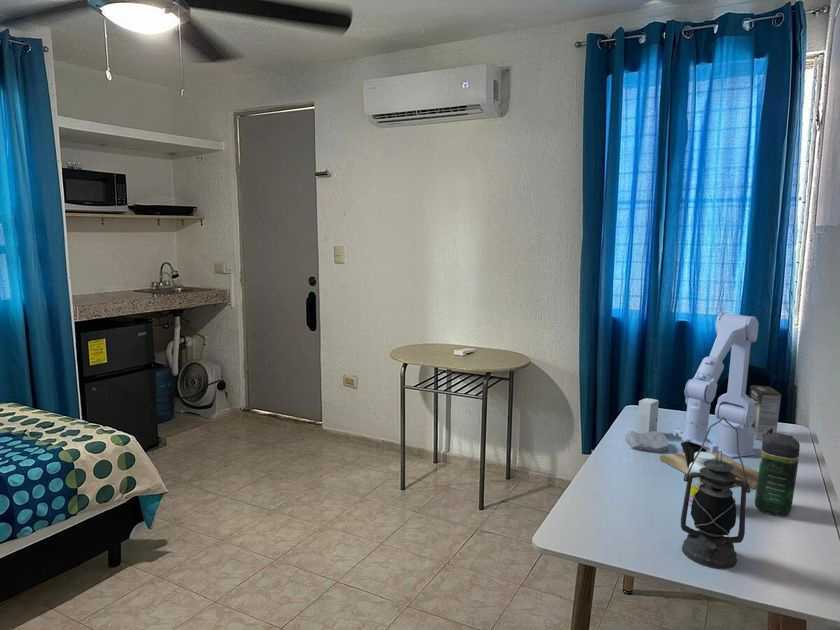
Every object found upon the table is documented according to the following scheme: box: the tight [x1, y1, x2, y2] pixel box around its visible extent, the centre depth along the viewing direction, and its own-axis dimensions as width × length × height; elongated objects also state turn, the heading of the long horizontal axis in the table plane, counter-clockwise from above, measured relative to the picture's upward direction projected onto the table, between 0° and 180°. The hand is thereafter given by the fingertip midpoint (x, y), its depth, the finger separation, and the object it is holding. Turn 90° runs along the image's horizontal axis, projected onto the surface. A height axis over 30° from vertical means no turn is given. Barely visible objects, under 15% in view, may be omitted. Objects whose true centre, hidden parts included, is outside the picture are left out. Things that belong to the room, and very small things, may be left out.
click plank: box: [659, 452, 742, 486], centre depth 169 cm, size 10×20×1 cm, turn 19°
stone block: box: [625, 430, 670, 454], centre depth 187 cm, size 12×5×10 cm
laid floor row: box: [681, 448, 759, 489], centre depth 172 cm, size 8×26×1 cm, turn 19°
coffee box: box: [748, 384, 782, 441], centre depth 198 cm, size 9×6×16 cm
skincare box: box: [636, 397, 660, 433], centre depth 196 cm, size 6×4×12 cm
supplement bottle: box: [688, 452, 715, 506], centre depth 148 cm, size 7×7×13 cm
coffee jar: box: [754, 432, 800, 517], centre depth 146 cm, size 10×8×19 cm
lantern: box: [680, 418, 752, 570], centre depth 124 cm, size 12×11×30 cm
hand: (692, 468), depth 168 cm, fingers closed, pressing on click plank
